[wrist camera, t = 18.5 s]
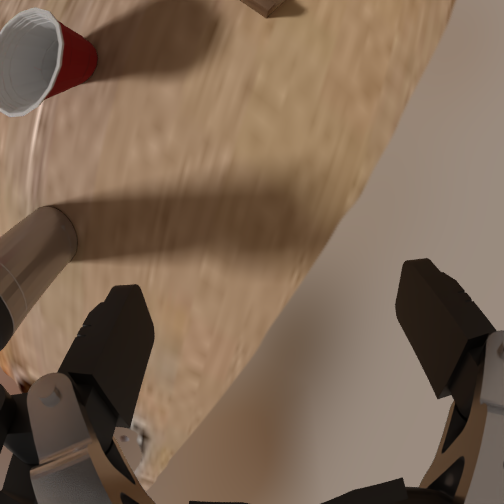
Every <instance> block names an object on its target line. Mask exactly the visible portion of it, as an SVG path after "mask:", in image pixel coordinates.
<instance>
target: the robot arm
mask: <svg viewBox="0 0 504 504" xmlns="http://www.w3.org/2000/svg"><path fill="white" fill-rule="evenodd" d="M76 250H77V236H76V232H75V230H74V227H73V225H72V224H71V222H70V220H69V219H68V218H67V217H66V216H65V215H64V214H63V213H62V212H61V211H59V210H57V209H55V208H52V207H41V208H38V209H37V210H35V211H34V212H33V213H31V214H30V215H28V216H27V217H26V218H24V219H23V220H22V221H20V222H19V223H18V224H17V225H15V226H14V227H13V228H11V229H10V230H9V231H8V232H6V233H5V234H4V235H3V236H1V237H0V351H1V350H2V349H3V348H4V347H5V346H6V344H7V343H8V341H9V340H10V338H11V337H12V335H13V334H14V333H15V331H16V330H17V328H18V327H19V325H20V324H21V323H22V321H23V320H24V318H25V317H26V316H27V314H28V313H29V311H30V310H31V309H32V307H33V306H34V305H35V303H36V302H37V301H38V300H39V298H40V297H41V296H42V294H43V293H44V292H45V291H46V289H47V288H48V287H49V286H50V284H51V283H52V282H53V281H54V279H55V278H56V277H57V276H58V274H59V273H60V272H61V271H62V270H63V269H64V267H65V266H66V265H67V264H68V263H69V261H70V260H71V259H72V258H73V256H74V255H75V253H76ZM395 308H396V316H397V319H398V321H399V323H400V325H401V327H402V329H403V330H404V332H405V334H406V336H407V338H408V340H409V342H410V344H411V346H412V347H413V350H414V351H415V353H416V355H417V357H418V359H419V361H420V363H421V365H422V367H423V369H424V372H425V374H426V375H427V377H428V379H429V382H430V384H431V386H432V388H433V390H434V392H435V395H436V397H437V399H440V398H443V397H446V396H449V395H452V397H453V399H454V401H453V403H452V404H451V407H450V410H449V414H448V417H447V421H446V424H445V428H444V431H443V435H442V438H441V441H440V444H439V447H438V450H437V453H436V455H435V458H434V460H433V462H432V464H431V466H430V468H429V469H428V471H427V472H426V474H425V476H424V477H423V479H422V481H421V483H420V485H419V487H405V484H404V481H403V478H399V479H395V480H392V481H388V482H385V483H381V484H377V485H373V486H369V487H365V488H360V489H356V490H352V491H350V492H348V493H346V494H343V495H341V496H339V497H336V498H334V499H331V500H329V501H327V502H324V503H321V504H504V331H502V330H501V331H496V329H495V328H494V327H493V325H492V324H491V323H490V321H489V320H488V319H487V318H486V316H485V315H484V314H483V313H482V311H481V310H480V309H479V308H478V306H477V305H476V304H475V303H474V301H472V300H471V298H470V297H469V295H468V294H467V293H465V292H464V289H463V288H462V287H461V286H460V285H459V283H458V282H457V281H456V280H455V279H453V278H451V277H450V276H448V275H446V274H445V273H444V272H440V271H439V269H438V268H437V267H436V266H435V265H434V264H433V263H432V262H431V260H429V259H428V258H425V259H416V260H407V261H405V262H404V264H403V267H402V272H401V277H400V283H399V288H398V293H397V298H396V304H395ZM153 343H154V326H153V322H152V319H151V317H150V314H149V311H148V308H147V305H146V302H145V299H144V297H143V294H142V291H141V288H140V287H139V286H138V285H137V284H134V285H118V286H114V287H113V288H112V289H111V291H110V292H109V294H108V296H107V298H106V299H105V301H104V302H101V303H100V304H98V305H97V306H96V307H95V308H94V309H93V310H92V311H91V312H90V313H89V314H88V316H87V318H86V320H85V321H84V323H83V327H81V328H80V330H79V332H78V334H77V337H76V338H75V339H74V341H73V343H72V345H71V347H70V349H69V351H68V353H67V354H66V356H65V358H64V360H63V362H62V364H61V366H60V368H59V370H58V372H57V373H50V374H46V375H44V376H42V377H41V378H39V379H38V380H37V381H36V382H35V383H34V384H33V385H32V386H31V388H30V390H29V392H28V393H23V394H17V395H10V394H9V393H8V392H7V391H6V389H5V388H4V387H3V386H2V385H1V384H0V453H1V450H2V447H3V445H4V446H5V447H6V448H7V449H9V450H10V451H11V452H12V453H13V456H12V458H11V461H10V465H9V468H8V471H7V475H6V478H5V482H4V485H3V489H2V490H1V491H0V504H156V503H155V502H154V501H153V500H152V498H151V497H150V496H148V494H147V493H146V492H145V490H144V489H143V487H142V486H141V484H140V483H139V481H138V479H137V477H136V476H135V474H134V472H133V470H132V469H131V467H130V465H129V463H128V462H127V459H126V458H125V456H124V454H123V452H122V450H121V448H120V446H119V444H118V442H117V441H116V439H115V437H114V436H113V434H114V430H115V427H124V428H130V426H131V422H132V418H133V414H134V410H135V406H136V403H137V399H138V395H139V392H140V388H141V384H142V381H143V377H144V374H145V370H146V367H147V363H148V360H149V357H150V353H151V350H152V347H153ZM189 504H248V503H243V502H240V503H239V502H232V503H231V502H200V501H189Z"/></svg>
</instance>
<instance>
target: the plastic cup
mask: <svg viewBox="0 0 504 504" xmlns="http://www.w3.org/2000/svg"><path fill="white" fill-rule="evenodd" d="M97 60H98V56H97V52H96V49H95V48H94V46H93V45H92V44H91V43H90V42H89V41H87V40H86V39H84V38H83V37H82V36H81V35H79V34H78V33H76V32H74V31H73V30H71V29H69V28H68V27H66V26H64V25H63V24H62V23H61V22H59V21H58V20H57V19H56V18H55V17H54V16H53V15H52V13H51V12H49V11H47V10H43V9H39V8H32V9H28V10H25V11H22V12H20V13H18V14H17V15H16V16H15V17H13V18H12V19H11V20H10V21H9V22H8V23H6V24H5V26H4V27H3V29H2V30H1V32H0V112H2V113H4V114H5V115H7V116H9V117H16V116H24V115H26V114H27V113H29V112H30V111H32V110H33V109H35V108H36V107H38V106H39V105H41V103H42V102H43V100H45V99H47V98H49V97H51V96H54V95H56V94H59V93H61V92H64V91H66V90H68V89H70V88H72V87H75V86H77V85H79V84H81V83H83V82H85V81H86V80H87V79H88V78H89V77H90V76H91V75H92V74H93V72H94V70H95V68H96V66H97Z"/></svg>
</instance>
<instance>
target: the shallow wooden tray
mask: <svg viewBox="0 0 504 504" xmlns="http://www.w3.org/2000/svg"><path fill="white" fill-rule="evenodd" d="M240 1H242V2H243V3H245V4H246V5H248V6H249V7H251V8H252V9H253V10H255V11H256V12H258V13H259V14H261V15H262V16H264V17H265V18H267V17H268V16H269V15H270V14H271V13H272V12H273V11H274V10H275V9H276V8H277V7H278V6H279V5H280V4H282V3H283V2H284V1H285V0H240Z"/></svg>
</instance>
